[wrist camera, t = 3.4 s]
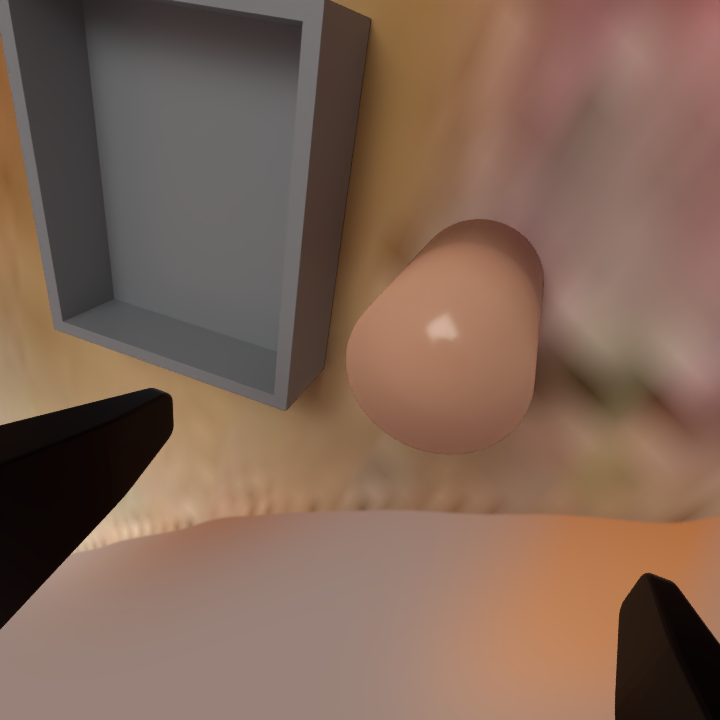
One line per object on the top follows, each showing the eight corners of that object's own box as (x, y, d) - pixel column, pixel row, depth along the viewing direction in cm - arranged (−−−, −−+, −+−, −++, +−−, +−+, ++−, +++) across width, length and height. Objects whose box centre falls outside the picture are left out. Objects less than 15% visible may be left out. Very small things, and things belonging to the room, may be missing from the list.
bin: (371, 18, 17) (324, -2, 14) (323, 368, 24) (285, 411, 21) (83, -26, 20) (-15, -52, 16) (117, 300, 27) (54, 329, 23)
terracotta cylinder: (563, 237, 18) (564, 317, 11) (520, 355, 20) (500, 478, 14) (430, 205, 19) (360, 262, 12) (405, 321, 22) (335, 420, 15)
